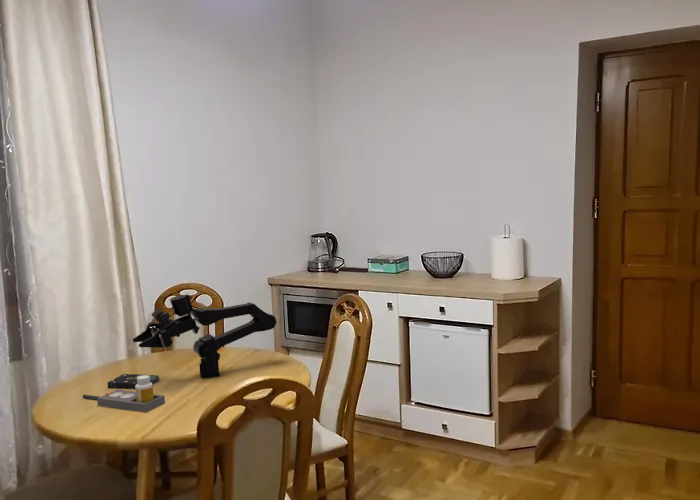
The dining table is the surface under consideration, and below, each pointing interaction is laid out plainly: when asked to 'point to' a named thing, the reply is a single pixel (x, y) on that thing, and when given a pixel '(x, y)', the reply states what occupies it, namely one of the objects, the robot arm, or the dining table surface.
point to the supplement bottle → (144, 389)
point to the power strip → (126, 401)
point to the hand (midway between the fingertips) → (136, 343)
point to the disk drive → (129, 381)
